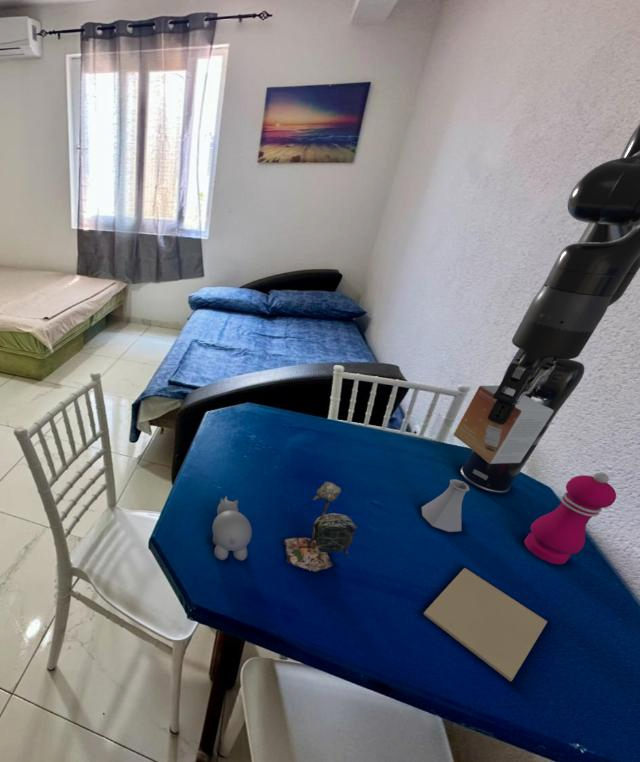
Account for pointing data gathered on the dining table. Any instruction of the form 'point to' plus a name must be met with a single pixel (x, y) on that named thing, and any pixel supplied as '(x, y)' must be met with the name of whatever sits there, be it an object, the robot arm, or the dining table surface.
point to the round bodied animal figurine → (230, 531)
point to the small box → (501, 427)
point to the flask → (447, 507)
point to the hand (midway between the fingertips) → (505, 414)
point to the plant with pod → (322, 536)
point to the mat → (487, 622)
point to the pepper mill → (570, 518)
